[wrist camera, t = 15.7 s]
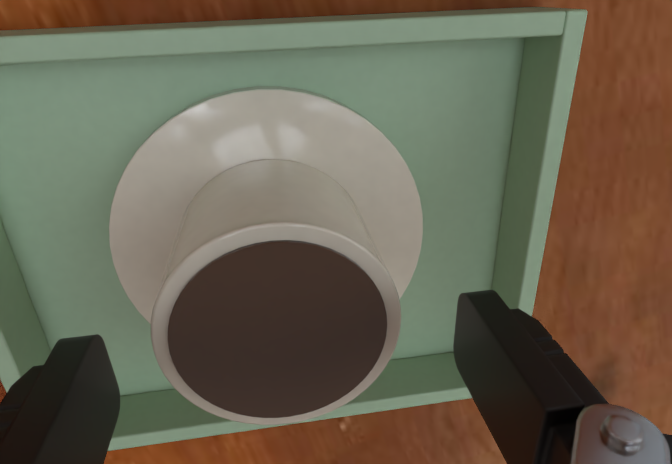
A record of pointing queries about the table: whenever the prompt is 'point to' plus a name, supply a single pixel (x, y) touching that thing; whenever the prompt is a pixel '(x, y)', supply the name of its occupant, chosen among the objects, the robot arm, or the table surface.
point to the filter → (268, 251)
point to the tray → (301, 73)
